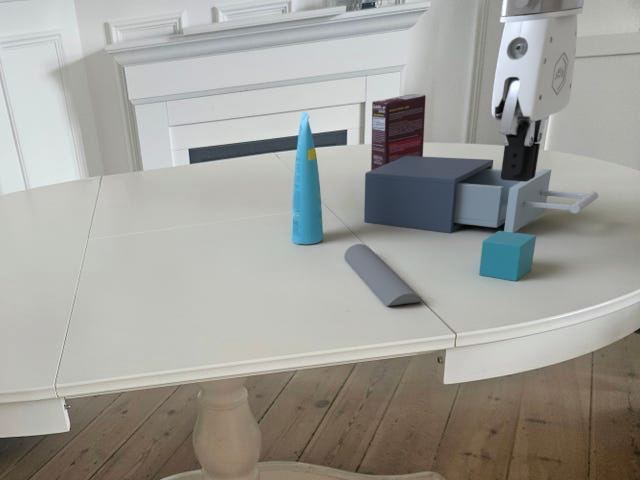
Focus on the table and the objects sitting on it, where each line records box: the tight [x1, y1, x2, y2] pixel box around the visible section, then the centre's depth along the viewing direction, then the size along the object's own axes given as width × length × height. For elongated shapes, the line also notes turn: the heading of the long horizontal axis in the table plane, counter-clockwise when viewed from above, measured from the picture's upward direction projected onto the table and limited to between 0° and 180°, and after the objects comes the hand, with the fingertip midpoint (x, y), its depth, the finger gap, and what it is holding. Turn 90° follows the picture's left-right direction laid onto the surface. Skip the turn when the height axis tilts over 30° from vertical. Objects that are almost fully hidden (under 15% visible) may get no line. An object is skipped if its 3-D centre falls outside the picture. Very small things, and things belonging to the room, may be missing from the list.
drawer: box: [454, 168, 599, 233], centre depth 93 cm, size 21×11×6 cm, turn 42°
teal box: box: [478, 230, 537, 282], centre depth 78 cm, size 4×4×4 cm
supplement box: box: [370, 93, 427, 171], centre depth 119 cm, size 9×5×16 cm, turn 108°
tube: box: [291, 109, 324, 245], centre depth 96 cm, size 7×5×19 cm, turn 179°
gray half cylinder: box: [344, 243, 423, 307], centre depth 82 cm, size 4×20×2 cm, turn 1°
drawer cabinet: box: [363, 156, 494, 234], centre depth 101 cm, size 15×13×8 cm
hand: (517, 178), depth 74 cm, fingers closed
